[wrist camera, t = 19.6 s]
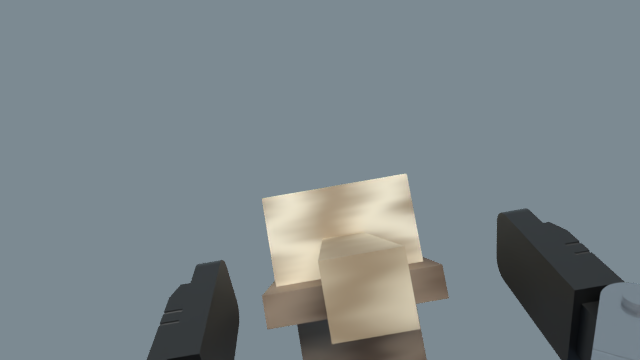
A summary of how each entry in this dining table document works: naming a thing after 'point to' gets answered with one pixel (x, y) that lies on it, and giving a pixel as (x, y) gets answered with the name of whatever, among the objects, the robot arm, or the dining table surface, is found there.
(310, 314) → the stand
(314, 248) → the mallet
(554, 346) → the robot arm
